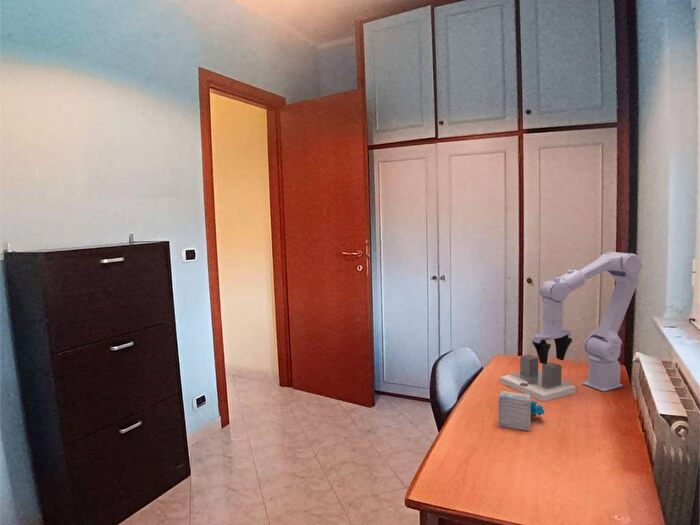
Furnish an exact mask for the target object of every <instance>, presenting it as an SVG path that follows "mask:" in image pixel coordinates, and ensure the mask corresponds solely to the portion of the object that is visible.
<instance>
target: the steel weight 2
mask: <svg viewBox="0 0 700 525" xmlns="http://www.w3.org/2000/svg"><path fill="white" fill-rule="evenodd" d="M541 366H542V367H541V372H542V382H543V383H545V384H548V385H550V386H555V385H559V384H561V379H562V371H563V370H562V368H563V367H562V365H561V364H558V363H555V362H553V361H549V362H547V364H542V363H541Z"/></svg>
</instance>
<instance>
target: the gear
mask: <svg viewBox="0 0 700 525" xmlns="http://www.w3.org/2000/svg"><path fill="white" fill-rule="evenodd" d="M537 404H538V401H535V400H531V414H530V415H534V416H535V415H538V416H542V415H544V414H545V410H544V406H542V405H540V404H538V405H537Z"/></svg>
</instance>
